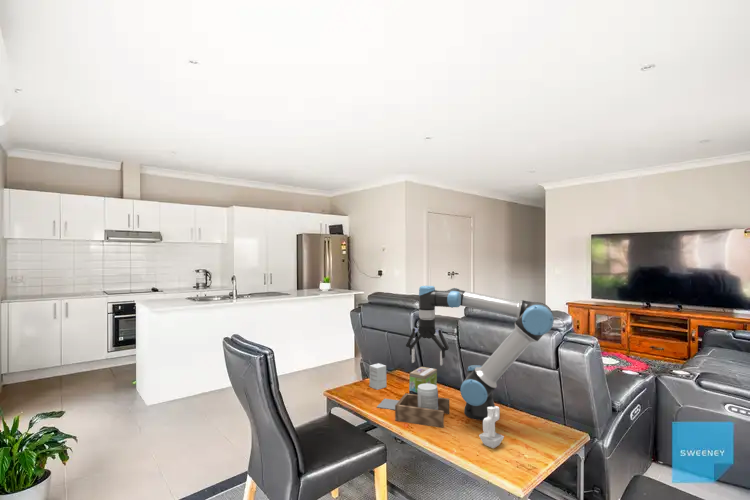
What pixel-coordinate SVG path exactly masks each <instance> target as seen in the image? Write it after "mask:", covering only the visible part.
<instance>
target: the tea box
mask: <svg viewBox="0 0 750 500" xmlns="http://www.w3.org/2000/svg"><path fill="white" fill-rule="evenodd" d="M437 381H438V369H437V368H432V367H431V368H430V367H428V366H427V367H425V366H420V367H418V368H416V369H414V370H413V371H412V370H411V372H409V385H408V387H409V388H408V390H409V393H408V394H416V395H418V390H417V389H418V385H420V384H426V383H428V384H434V385H436V386H437V387H438V385H437V384H438V382H437Z"/></svg>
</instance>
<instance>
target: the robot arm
mask: <svg viewBox="0 0 750 500" xmlns="http://www.w3.org/2000/svg"><path fill="white" fill-rule="evenodd" d="M436 307H442V308H453V309H454V308H459V307H467V308H470V309H476V310H479V311H485V312H489V313H492V314H498V315H501V316H502V315H503V316H508V317H511V318H512V317H513V318H516V321H515V322H514V329H513V330H512V331H511V332H510V334H509V335H508V336H507V337H506V338H505V339H504V340H503V341H502V342H501V344H500V345H499V346H498V347H497V348H496V349H495V350H494V352H493V353H492V354H491V355H490V356H489V357H488V358H487V360H486V361H485V362H484V363H483V364H482V365H481V364H480V365H479V364H478V365H477V364H474V365H472V364H471V365H469V366H468V365H467V370H466V372H467V376H466V378H465V379H464V381H462V383H461V385H460V389H459V390H460V395H461V398H462V399H463V401H464V402H465V405H464V410H463V411H464V412H463V413H464V415H465V416H466V417H467V418H469V419H471V420H475V421H482V422H483V419H484V418H486V417H487V416H488V411H487V407H495V406H496V404H495V402H494V391H495V389H496V388H497V387H498V385H497V382H498V380H500V378H501V377H502V376H503V374H505V373H506V371H507V370H508V369H509V368H510V367H511V366H512V365H513V364H514V363H515V361H516V360H517V359H518V358H519V357H520V356H521V355H522V353H523V352H524V351H525V350H526V349H527V348H528V347H529V346H530V345H531V344H532V343H533V342H538V341H540V340H541V338H542V337H543V336H544V335H545V334H548V332H550V331H551V329H552V328H553V325H554V314H553V312H552V311H553V310H552V308H550V307H549V306H548V305H547V304H545V303H543V302H539V301H537V302H536V301H531V300H530V301H529V300H524V299H522V300H520V301H518V300H512V299H507V298H502V297H497V296H492V295H487V294H482V293H478V292H472V291H467V290H462V289H460V288H457V287H456V288H455V287H453V288H450V289H447V290H437V289H436V287H435V286H434V285H422V286H421V285H420V286H419V288H418V318H419V319H418V327H413V328H412V332H411V335H410V336H409V338H408V340H407V342H406V344H405V347H406V348H409V355H410V356H411V364H413V363H415V362H416V357H415V356H416V352H415V351H416V349H415V345H416V344H417V343H418V342H419V341H420V340H421V338H423V339H432V340H433V341H434V343H435V344H436V345H437V346H438V348H439V349H440V350H439V366H443V365H444V359H445V357H446V351H448V350H449V349H450V346H449V345H448V342H447V341H446V339H445V336H444V335H443V330H442V329H441V328H439V329H436V320H435V318H436ZM417 333H419V335H418V336H417V337H416V339H415V340H414V341H413V339H414V337H415V335H416V334H417ZM435 334H437V335H438V337H439V339H438V337H437V336H436V335H435ZM412 341H413V342H412Z"/></svg>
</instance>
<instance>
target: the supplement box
mask: <svg viewBox="0 0 750 500" xmlns="http://www.w3.org/2000/svg"><path fill="white" fill-rule="evenodd" d="M368 367H369V368H368V369H369V371H368V372H369V387H370V388H372V389H373V390H377V391H378V390H381V389H384V388H385V389H386V388H387V365H385V364H382V363H379V362H377V363H374V364H371V365H368Z"/></svg>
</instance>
